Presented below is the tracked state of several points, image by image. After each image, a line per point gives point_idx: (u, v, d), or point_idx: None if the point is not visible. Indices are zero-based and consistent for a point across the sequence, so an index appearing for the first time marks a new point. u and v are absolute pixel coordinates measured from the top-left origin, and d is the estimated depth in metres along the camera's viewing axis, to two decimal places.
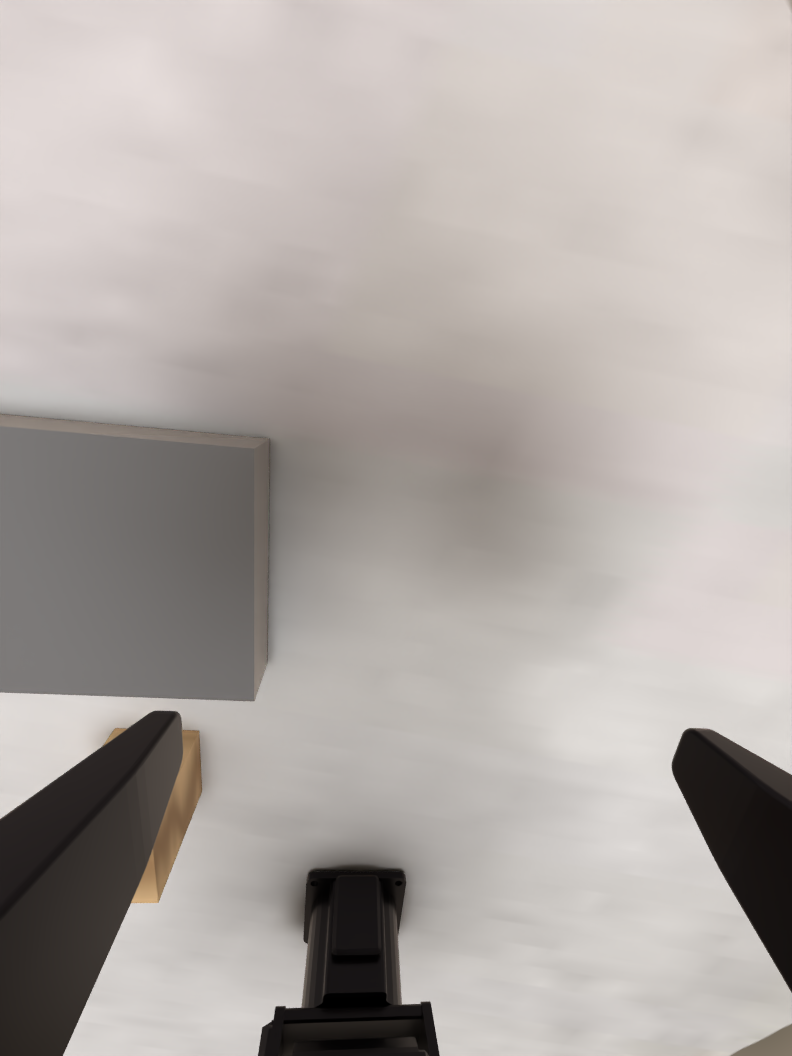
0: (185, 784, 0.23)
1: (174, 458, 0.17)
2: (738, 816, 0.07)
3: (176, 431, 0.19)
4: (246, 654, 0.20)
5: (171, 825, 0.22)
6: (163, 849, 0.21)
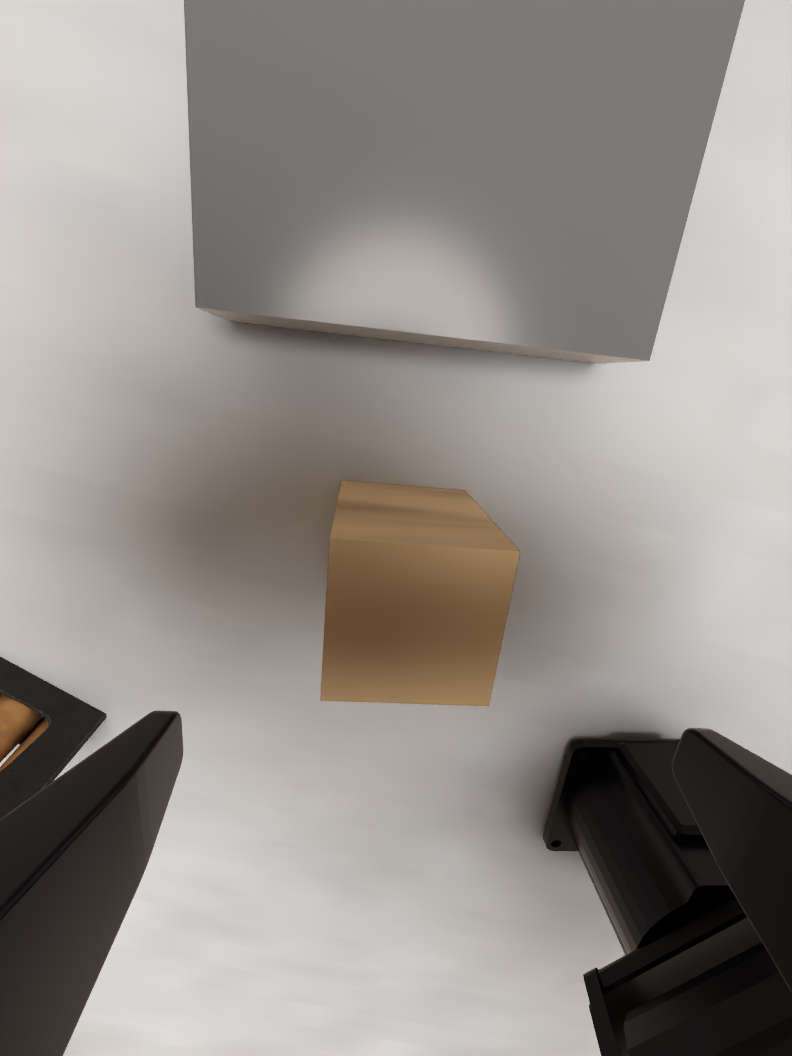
0: None
1: None
2: (738, 816, 0.07)
3: None
4: (665, 251, 0.11)
5: None
6: None
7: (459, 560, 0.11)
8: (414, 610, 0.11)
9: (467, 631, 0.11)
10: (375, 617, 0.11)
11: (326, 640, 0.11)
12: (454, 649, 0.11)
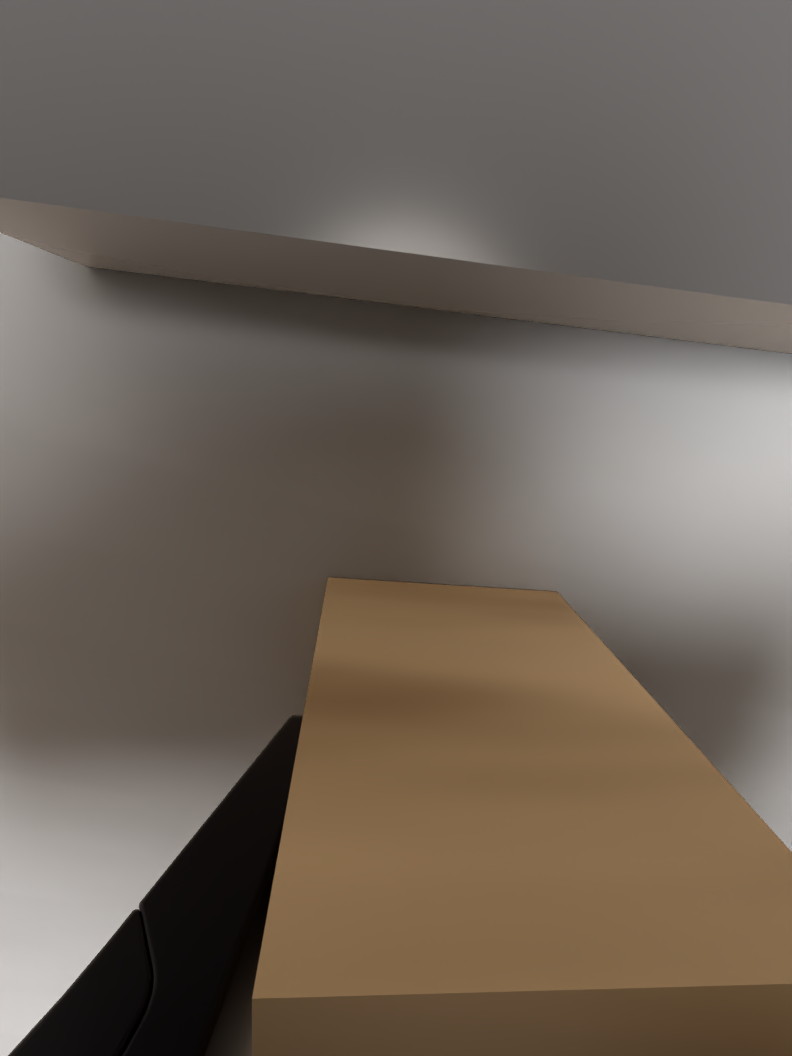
0: None
1: None
2: None
3: None
4: None
5: None
6: None
7: (704, 1015, 0.03)
8: None
9: None
10: None
11: None
12: None
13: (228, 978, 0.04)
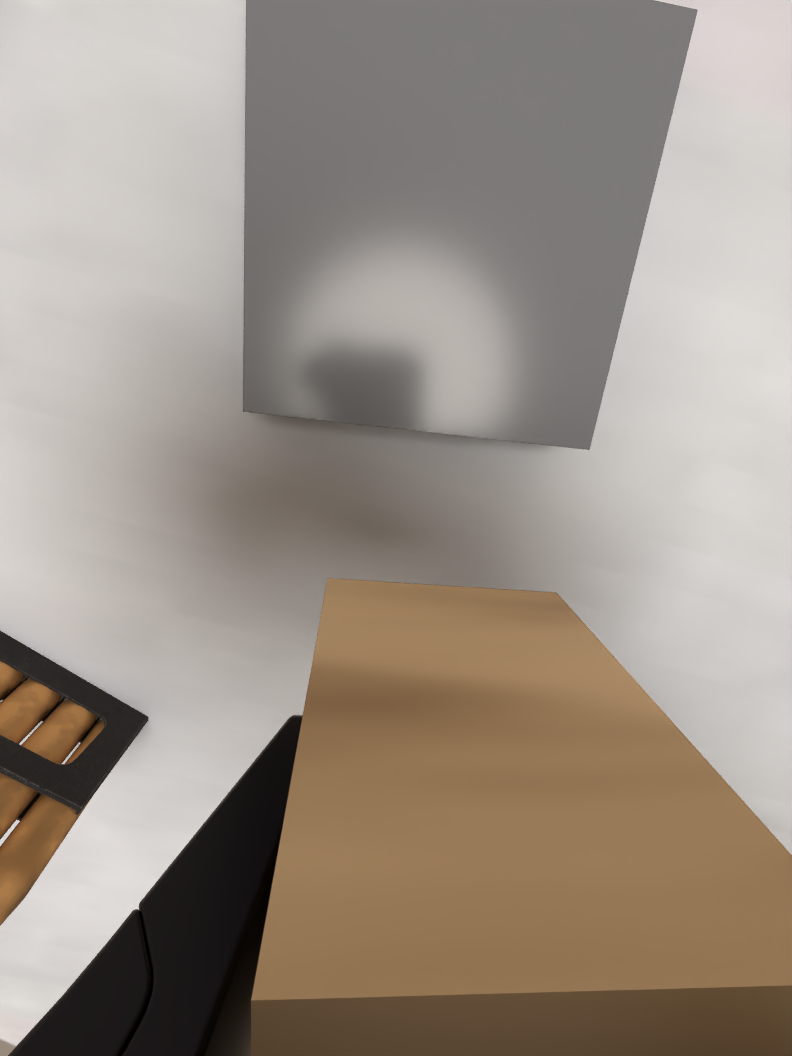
0: None
1: (585, 19, 0.12)
2: None
3: None
4: (598, 372, 0.15)
5: None
6: None
7: (699, 1015, 0.03)
8: None
9: None
10: None
11: None
12: None
13: (228, 979, 0.04)
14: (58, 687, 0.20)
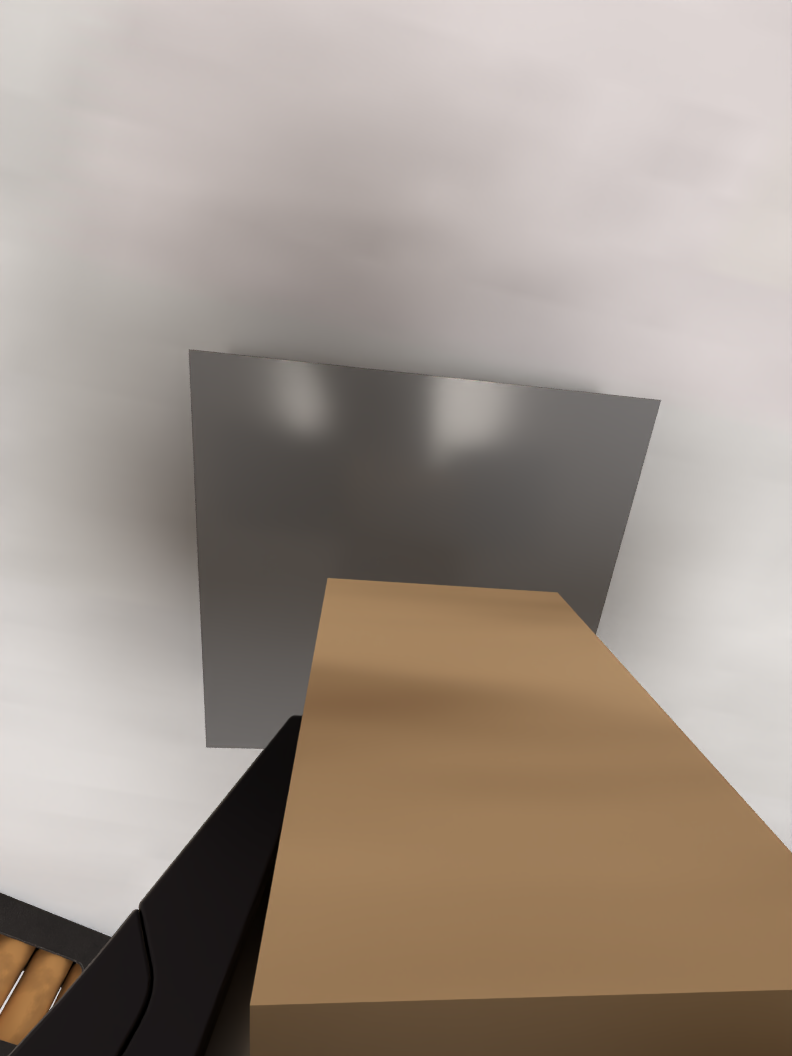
0: None
1: (545, 414, 0.12)
2: None
3: None
4: None
5: None
6: None
7: (705, 1020, 0.03)
8: None
9: None
10: None
11: None
12: None
13: (228, 979, 0.04)
14: (34, 938, 0.20)
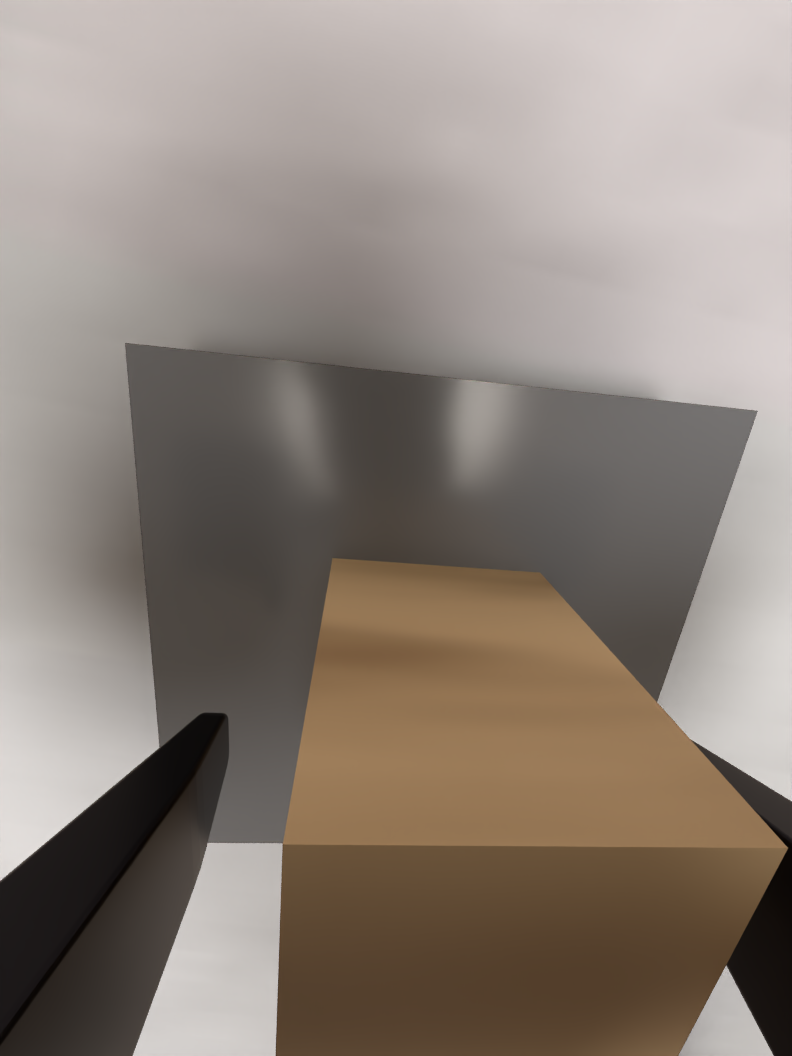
0: None
1: (605, 430, 0.09)
2: None
3: None
4: None
5: None
6: None
7: (629, 872, 0.04)
8: (502, 972, 0.04)
9: (625, 1002, 0.05)
10: (404, 992, 0.04)
11: (283, 1036, 0.04)
12: (588, 1032, 0.05)
13: (40, 983, 0.03)
14: None
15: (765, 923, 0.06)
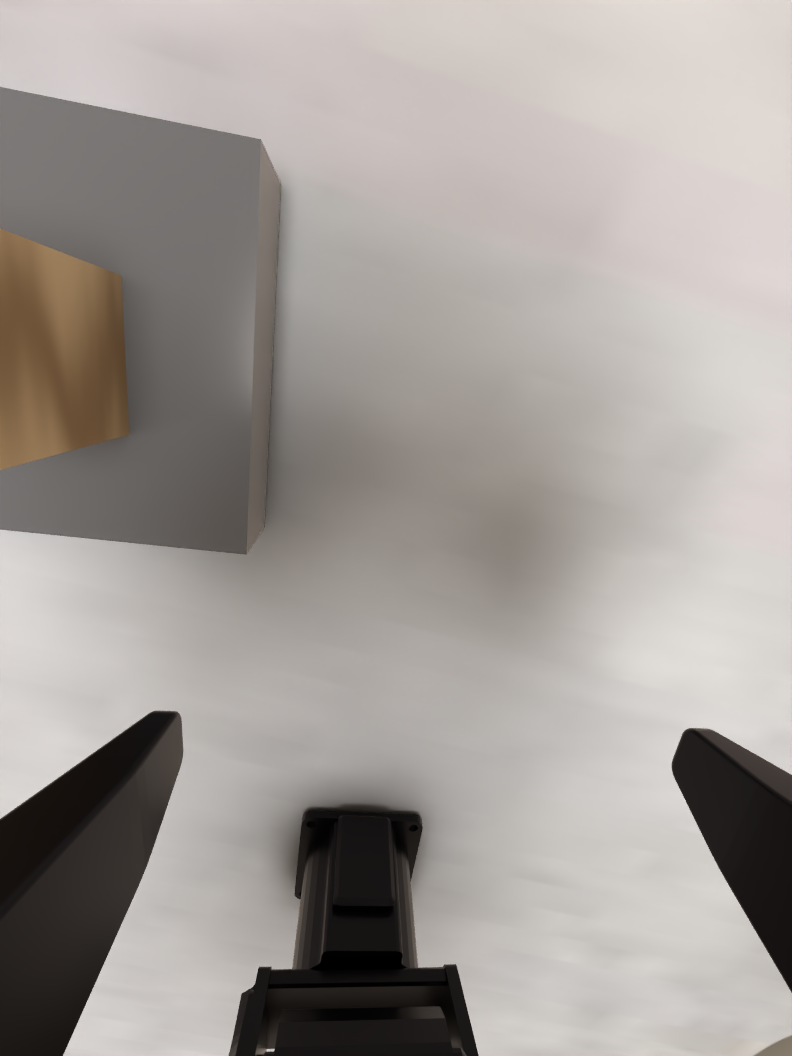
0: (77, 324, 0.11)
1: (141, 146, 0.12)
2: (738, 816, 0.07)
3: None
4: (238, 482, 0.15)
5: (25, 341, 0.09)
6: None
7: None
8: None
9: None
10: None
11: None
12: None
13: None
14: None
15: None
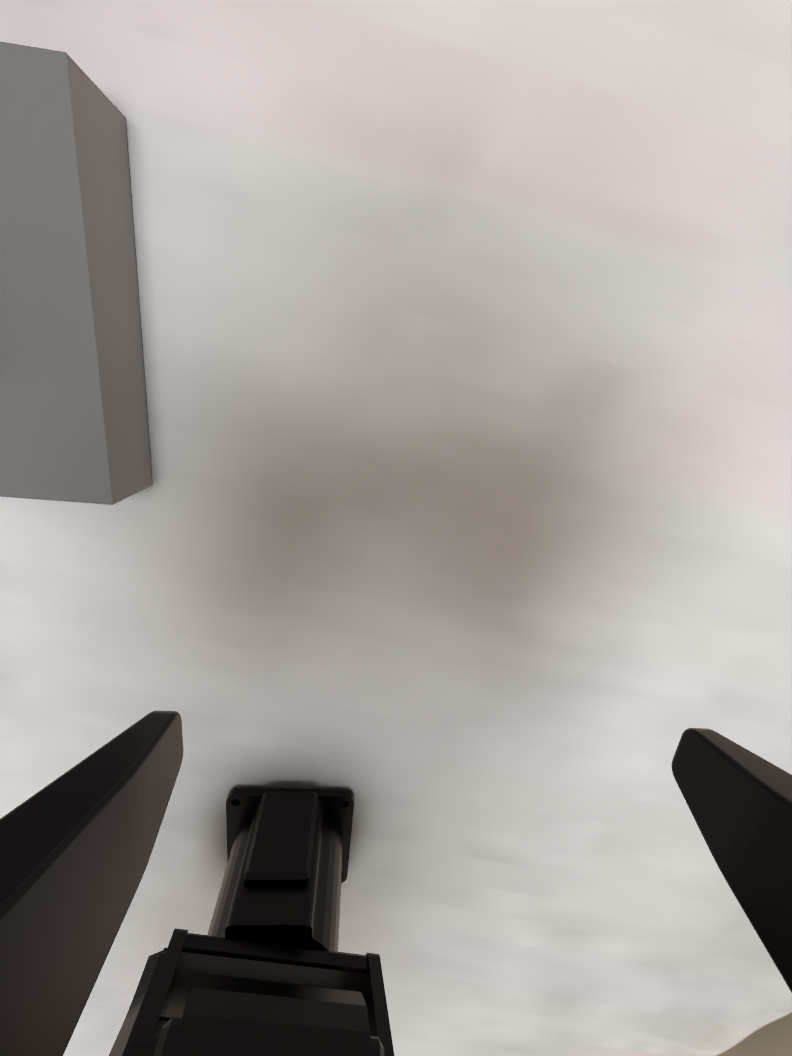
0: None
1: None
2: (738, 816, 0.07)
3: None
4: (92, 426, 0.14)
5: None
6: None
7: None
8: None
9: None
10: None
11: None
12: None
13: None
14: None
15: None
